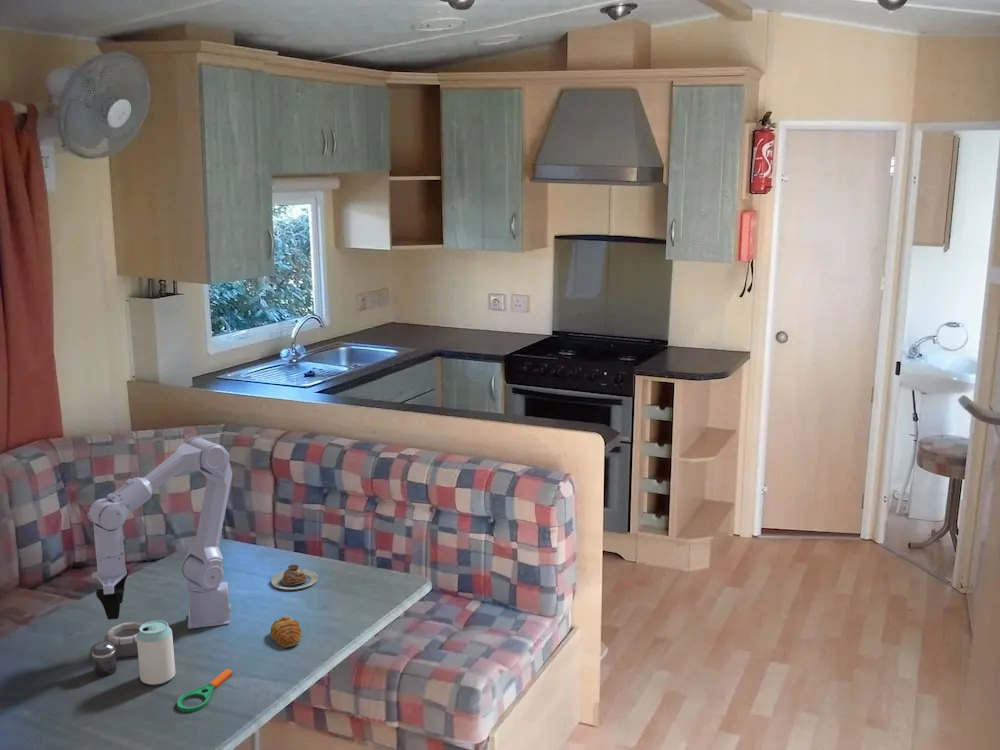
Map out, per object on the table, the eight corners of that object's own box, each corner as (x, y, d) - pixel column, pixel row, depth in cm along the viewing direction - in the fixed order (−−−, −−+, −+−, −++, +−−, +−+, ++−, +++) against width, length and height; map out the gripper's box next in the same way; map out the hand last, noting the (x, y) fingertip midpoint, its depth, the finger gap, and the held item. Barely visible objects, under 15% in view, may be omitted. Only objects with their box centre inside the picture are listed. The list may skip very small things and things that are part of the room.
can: (155, 690, 201) (150, 637, 198) (133, 680, 204) (128, 628, 202) (182, 675, 206) (178, 623, 204) (160, 666, 210) (156, 615, 207)
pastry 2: (269, 576, 256) (268, 560, 255) (315, 570, 259) (314, 554, 258) (273, 595, 245) (272, 578, 244) (320, 589, 248) (320, 572, 247)
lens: (118, 664, 211) (116, 638, 210) (116, 675, 206) (113, 649, 205) (95, 667, 210) (92, 641, 208) (92, 678, 205) (90, 652, 204)
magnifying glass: (195, 716, 192) (194, 709, 192) (170, 710, 194) (169, 702, 194) (241, 679, 206) (240, 671, 206) (217, 673, 208) (217, 666, 208)
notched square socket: (153, 636, 223) (152, 619, 222) (151, 653, 216) (150, 635, 215) (107, 642, 220) (105, 625, 219) (103, 659, 213) (101, 641, 212)
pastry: (307, 645, 219) (306, 630, 219) (277, 652, 217) (276, 636, 216) (296, 627, 228) (296, 612, 227) (268, 634, 225) (267, 619, 224)
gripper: (94, 542, 217) (100, 598, 220) (85, 568, 203) (91, 627, 206) (128, 539, 218) (133, 595, 221) (121, 565, 205) (126, 624, 208)
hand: (115, 610), depth 214 cm, fingers open, 7 cm apart
